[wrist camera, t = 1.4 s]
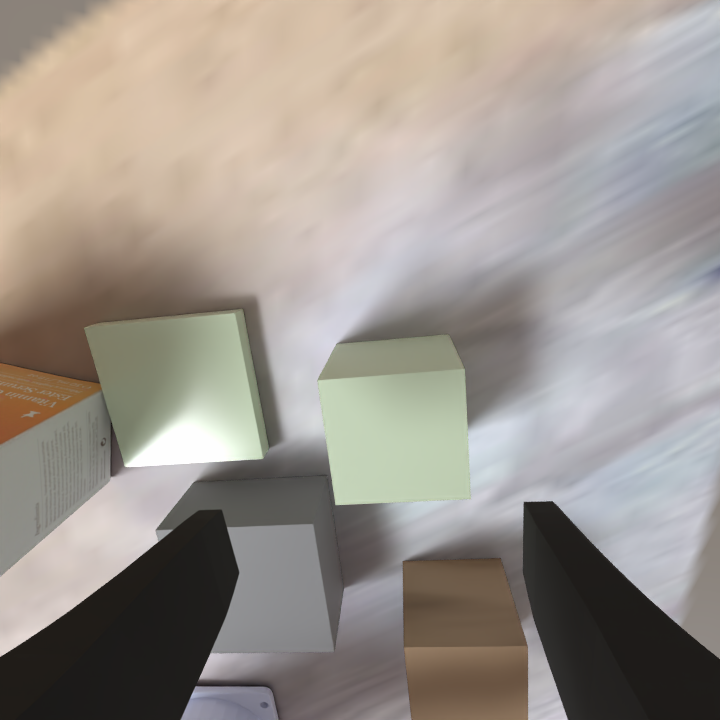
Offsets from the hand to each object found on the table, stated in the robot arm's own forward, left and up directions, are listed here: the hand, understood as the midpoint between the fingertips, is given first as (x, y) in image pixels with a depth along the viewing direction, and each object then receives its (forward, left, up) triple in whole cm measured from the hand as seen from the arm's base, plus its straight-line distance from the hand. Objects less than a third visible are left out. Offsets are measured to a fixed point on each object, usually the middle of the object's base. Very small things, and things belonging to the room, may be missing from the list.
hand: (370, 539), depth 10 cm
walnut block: (-12, -3, -10) cm, 16 cm away
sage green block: (0, -1, -10) cm, 10 cm away
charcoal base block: (-8, +7, -11) cm, 15 cm away
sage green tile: (+1, +9, -10) cm, 14 cm away
